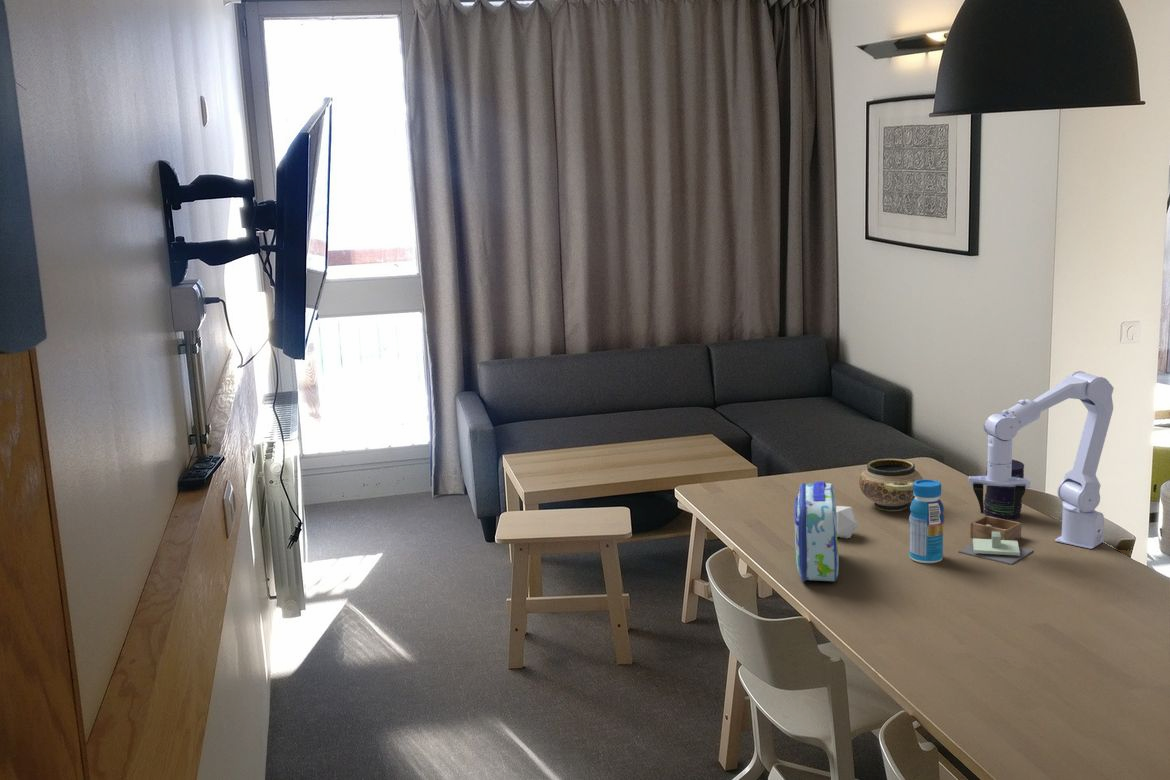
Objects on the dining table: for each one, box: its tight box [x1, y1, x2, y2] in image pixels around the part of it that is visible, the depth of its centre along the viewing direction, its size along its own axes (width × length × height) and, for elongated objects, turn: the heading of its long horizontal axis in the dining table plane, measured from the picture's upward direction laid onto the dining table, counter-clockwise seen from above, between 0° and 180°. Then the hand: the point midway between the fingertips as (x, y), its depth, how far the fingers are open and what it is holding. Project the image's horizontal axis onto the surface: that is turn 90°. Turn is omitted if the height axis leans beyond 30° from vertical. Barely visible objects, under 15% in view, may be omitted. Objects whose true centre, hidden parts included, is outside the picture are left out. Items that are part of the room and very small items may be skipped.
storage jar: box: [983, 459, 1025, 521], centre depth 301 cm, size 10×10×15 cm
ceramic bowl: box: [858, 458, 924, 512], centre depth 313 cm, size 24×18×15 cm
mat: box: [958, 542, 1034, 566], centre depth 275 cm, size 14×12×1 cm
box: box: [970, 515, 1022, 541], centre depth 285 cm, size 10×8×4 cm
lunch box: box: [794, 480, 840, 582], centre depth 268 cm, size 26×11×21 cm, turn 168°
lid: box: [972, 531, 1020, 556], centre depth 275 cm, size 11×9×4 cm
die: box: [836, 505, 859, 539], centre depth 292 cm, size 8×9×10 cm
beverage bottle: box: [908, 478, 945, 564], centre depth 271 cm, size 8×8×20 cm
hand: (998, 513), depth 274 cm, fingers open, 7 cm apart
